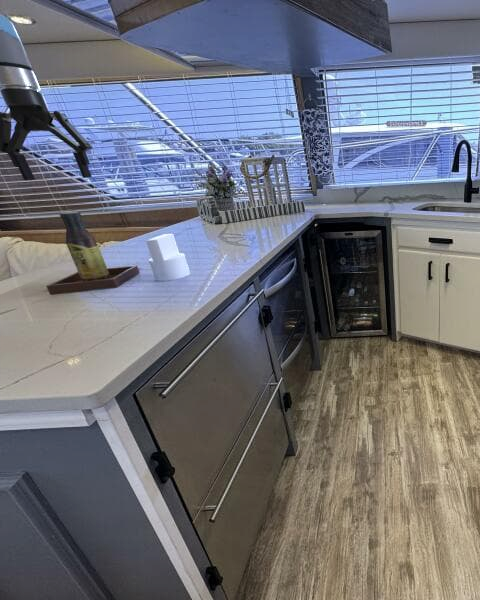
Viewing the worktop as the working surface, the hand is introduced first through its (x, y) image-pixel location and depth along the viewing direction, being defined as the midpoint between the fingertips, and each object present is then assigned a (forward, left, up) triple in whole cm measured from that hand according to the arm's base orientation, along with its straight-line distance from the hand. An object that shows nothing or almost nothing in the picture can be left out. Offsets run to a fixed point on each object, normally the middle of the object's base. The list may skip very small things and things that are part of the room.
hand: (59, 178), depth 90 cm
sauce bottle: (+4, -9, -28) cm, 30 cm away
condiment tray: (+4, -9, -29) cm, 30 cm away
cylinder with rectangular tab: (+24, -10, -29) cm, 39 cm away
